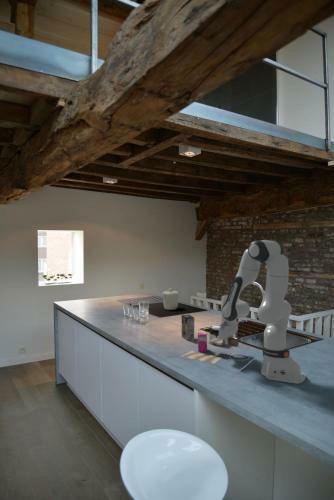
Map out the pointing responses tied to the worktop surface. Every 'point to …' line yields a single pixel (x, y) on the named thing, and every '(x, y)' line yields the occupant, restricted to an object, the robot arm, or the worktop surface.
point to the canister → (170, 299)
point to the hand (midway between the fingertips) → (228, 342)
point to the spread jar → (214, 333)
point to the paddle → (232, 342)
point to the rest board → (202, 357)
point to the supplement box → (202, 342)
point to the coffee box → (187, 327)
